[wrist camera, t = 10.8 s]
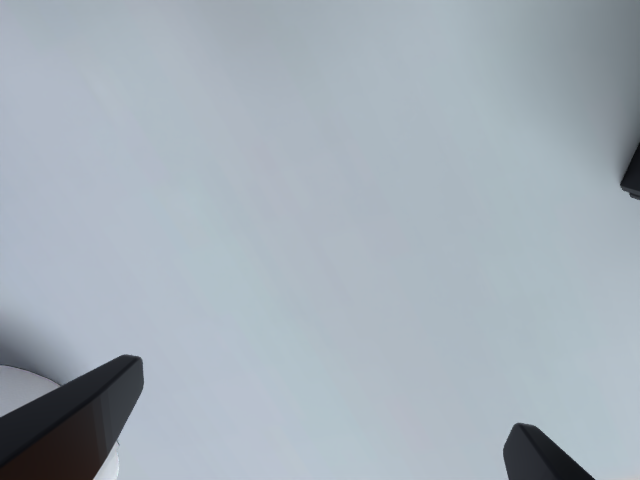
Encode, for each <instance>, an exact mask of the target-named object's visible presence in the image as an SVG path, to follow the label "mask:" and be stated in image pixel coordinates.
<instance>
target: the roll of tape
mask: <svg viewBox="0 0 640 480" xmlns="http://www.w3.org/2000/svg"><path fill="white" fill-rule="evenodd" d="M58 387H60V385H58V384H57V383H55V382H53V381H52V380H50V379H47V378H45V377H42V376H40V375H37V374H35V373H32V372H29V371H26V370H23V369H20V368H15V367H10V366H4V365H0V417H1V416H3V415H5V414H7V413H9V412H11V411H13V410H15V409H17V408H19V407H21V406H23V405H25V404H27V403H29V402H31V401H33V400H35V399H37V398H39V397H41V396H43V395H45V394H47V393H49V392H50V391H52V390H54V389H56V388H58ZM118 448H119V444H118V443H117V441H116V442H115V444H114V446H113V448H112V450H111V452H110V453H109V455H108V457H107V459H106V460H105V462H104V463H103V465H102V467H101V468H100V470H99V471H98V473H97V474H96V476H95V478H94V479H93V480H116V479H117V477H118V472H119V458H118V453H117V450H118Z"/></svg>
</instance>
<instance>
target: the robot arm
mask: <svg viewBox="0 0 640 480" xmlns="http://www.w3.org/2000/svg"><path fill="white" fill-rule="evenodd" d="M620 185H621V188H622V190H623V191H626V192H630V196H631V197H632V198H635V199H638V200H640V143H639V145H638V147H637V149H636V152H635V154H634V156H633V158H632V160H631V162H630V165H629V167H628V169H627V171H626V173H625V175H624V178H623V180H622V182H621V184H620ZM143 385H144V376H143V362H142V359H141V357H138V356H133V355H127V354H125V355H121V356H119V357H117V358H115V359H113V360H111V361H109V362H107V363H105V364H103V365H101V366H100V367H98V368H96V369H94V370H92V371H90V372H88V373H86V374H84V375H82V376H80V377H78V378H76V379H74V380H72V381H70V382H68V383H66V384H64V385H62V386H60V387H58V388H56V389H54V390H52V391H50V392H49V393H47V394H45V395H43V396H41V397H39V398H37V399H35V400H33V401H31V402H29V403H27V404H25V405H23V406H21V407H19V408H17V409H15V410H13V411H11V412H9V413H7V414H5V415H3V416H1V417H0V480H93V479H94V478H95V476H96V474H97V473H98V471H99V470H100V468H101V467H102V465H103V463H104V462H105V460H106V459H107V457H108V455H109V453H110V452H111V450H112V448H113V446H114V444H115V442H116V440H117V439H118V437H119V435H120V433H121V431H122V429H123V427H124V425H125V423H126V421H127V419H128V417H129V416H130V414H131V412H132V410H133V408H134V406H135V404H136V402H137V400H138V398H139V396H140V394H141V392H142V390H143ZM503 457H504V462H505V466H506V470H507V474H508V478H509V480H595V479H594V478H593V477H592V476H591V475H590V474H589V473H587V472H586V471H585V470H584V469H583V468H582V467H581V466H580V465H579V464H577V463H576V462H575V461H574V460H573V459H572V458H571V457H570V456H569V455H567V454H566V453H565V452H564V451H563V450H562V449H561V448H560V447H559V446H557V445H556V444H555V443H554V442H553V441H552V440H551V439H550V438H549V437H548V436H546V435H545V434H544V433H543V432H542V431H541V430H540V429H539V428H537V427H536V426H534V425H529V424H524V423H516V424H515V425H514V426H513V428H512V430H511V432H510V434H509V436H508V439H507V441H506V443H505V445H504V449H503Z"/></svg>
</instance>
